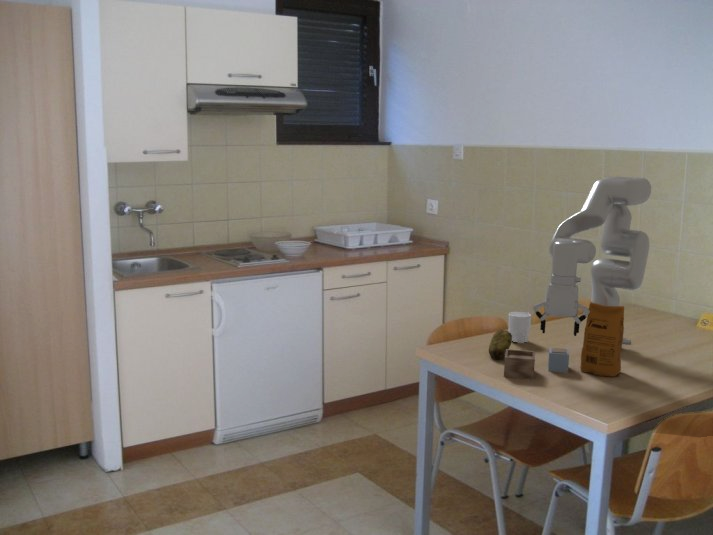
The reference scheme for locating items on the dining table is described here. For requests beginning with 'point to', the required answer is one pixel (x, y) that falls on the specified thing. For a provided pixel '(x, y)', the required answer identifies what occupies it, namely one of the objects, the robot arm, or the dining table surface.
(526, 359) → the box base
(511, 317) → the white cup
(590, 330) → the coffee package
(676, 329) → the dining table surface
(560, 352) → the cap block
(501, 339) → the potato
